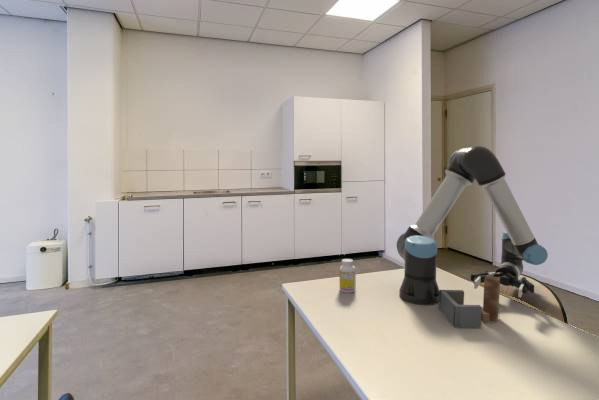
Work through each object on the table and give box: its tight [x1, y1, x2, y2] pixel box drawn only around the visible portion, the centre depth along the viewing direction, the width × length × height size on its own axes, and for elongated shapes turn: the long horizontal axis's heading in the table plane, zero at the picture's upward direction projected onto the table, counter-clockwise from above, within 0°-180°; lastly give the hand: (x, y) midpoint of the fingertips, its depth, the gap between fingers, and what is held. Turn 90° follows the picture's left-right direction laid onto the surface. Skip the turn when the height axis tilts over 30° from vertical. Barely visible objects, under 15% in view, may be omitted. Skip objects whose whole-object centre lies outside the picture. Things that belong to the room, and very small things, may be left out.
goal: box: [438, 289, 483, 329], centre depth 117 cm, size 15×8×7 cm, turn 176°
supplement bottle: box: [339, 258, 357, 294], centre depth 144 cm, size 7×7×13 cm
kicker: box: [481, 275, 501, 324], centre depth 116 cm, size 7×7×14 cm
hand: (496, 289), depth 120 cm, fingers open, 13 cm apart
